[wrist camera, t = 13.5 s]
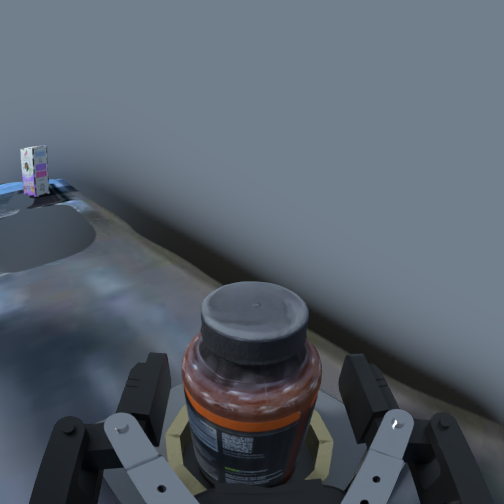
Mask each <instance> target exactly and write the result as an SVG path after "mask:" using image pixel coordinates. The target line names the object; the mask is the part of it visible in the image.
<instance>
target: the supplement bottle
mask: <svg viewBox="0 0 504 504" xmlns="http://www.w3.org/2000/svg"><path fill="white" fill-rule="evenodd" d="M308 316H309V312H308V308H307V306H306V303H305V302H304V301H303V300H302V299H301V298H300V297H299V296H298V295H297V294H295V293H294V292H292V291H290V290H288V289H286V288H284V287H281V286H279V285H275V284H270V283H265V282H239V283H233V284H229V285H225V286H222V287H220V288H218V289H216V290H214V291H212V292H211V293H210V294H209V295H208V296H207V297H206V298H205V299H204V301H203V303H202V306H201V320H202V326H201V332H199V333H198V334H197V335H196V336H195V337H194V338H193V339H192V340H191V342H190V343H189V345H188V346H187V348H186V351H185V354H184V356H183V361H182V379H183V385H184V394H185V400H186V406H187V412H188V418H189V424H190V429H191V436H192V441H193V446H194V452H195V458H196V462H197V464H198V467H199V470H200V472H201V474H202V476H203V477H204V478H205V479H206V481H207V482H208V483H209V484H210V485H212V486H213V487H214V488H215V482H217V483H244V484H249V485H254V486H259V487H265V488H273V487H277V486H280V485H284V484H285V483H286V482H287V481H288V480H289V479H290V478H291V476H292V474H293V472H294V470H295V468H296V466H297V463H298V460H299V457H300V454H301V451H302V447H303V444H304V441H305V438H306V435H307V431H308V428H309V425H310V421H311V418H312V414H313V411H314V408H315V403H316V401H317V397H318V391H319V388H320V384H321V376H322V365H321V360H320V356H319V354H318V352H317V350H316V348H315V347H314V345H313V344H312V343H311V342H310V340H309V339H308V338H307V336H306V330H307V324H308Z"/></svg>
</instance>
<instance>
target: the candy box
mask: <svg viewBox="0 0 504 504" xmlns="http://www.w3.org/2000/svg"><path fill="white" fill-rule="evenodd" d="M21 166H22V178H23V188H24V194H26V195H29V196H34V197H38V196H42V195H47V194H50V190H49V179H48V163H47V145H43V146H34V147H29V148H24V149H21Z"/></svg>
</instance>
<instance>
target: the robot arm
mask: <svg viewBox="0 0 504 504" xmlns="http://www.w3.org/2000/svg"><path fill="white" fill-rule="evenodd" d="M170 389H171V376H170V370H169V364H168V357H167V354H165V353H153V352H150V353H149V355H148V358H147V361H146V363H139V362H138V363H137V364H136V365H135V366H134V367H133V368H132V369H131V371H130V374H129V377H128V380H127V382H126V387H125V388H124V391H123V394H122V396H121V399H120V402H119V405H118V408H117V411H116V413H115V414H113V415H111V416H109V417H108V418H107V419H106V421H105V422H103V423H96V424H84V423H83V422H82V421H81V420H80V419H79V418H76V417H72V416H68V417H64V418H62V419H60V420H59V421H58V422H57V423H56V424H55V426H54V429H53V431H52V434H51V437H50V439H49V442H48V445H47V448H46V451H45V454H44V456H43V459H42V462H41V465H40V468H39V472H38V475H37V478H36V481H35V484H34V488H33V491H32V494H31V498H30V502H29V504H97V503H98V498H99V492H100V487H101V482H102V477H103V472H104V469H115V468H125V470H126V472H127V473H128V475H129V477H130V479H131V480H132V482H133V483H134V485H135V487H136V488H137V490H138V491H139V493H140V495H141V496H142V498H143V499H144V501H145V502H146V504H386V503H387V501H388V499H389V497H390V495H391V492H392V490H393V488H394V485H395V483H396V481H397V478H398V476H399V473H400V471H401V468H402V465H403V462H405V463H408V465H409V468H410V471H411V474H412V477H413V480H414V483H415V486H416V490H417V493H418V496H419V500H420V503H421V504H494V503H493V501H492V498H491V496H490V493H489V491H488V488H487V486H486V483H485V481H484V479H483V476H482V474H481V472H480V470H479V467H478V465H477V463H476V461H475V458H474V456H473V454H472V452H471V450H470V448H469V446H468V444H467V441H466V439H465V437H464V435H463V433H462V431H461V429H460V427H459V425H458V423H457V421H456V420H455V418H454V417H453V416H451V415H450V414H447V413H442V412H441V413H437V414H435V415H434V416H433V417H432V418H431V420H419V419H413V418H412V416H411V415H410V414H409V413H408V412H406V411H404V410H401V409H399V407H398V405H397V402H396V400H395V398H394V396H393V394H392V392H391V390H390V388H389V386H388V384H387V382H386V380H385V378H384V376H383V374H382V372H381V370H380V369H378V368H377V367H376V366H375V365H374V364H368V362H367V360H366V358H365V356H364V355H363V354H353V355H347V356H346V357H345V360H344V364H343V367H342V370H341V374H340V377H339V391H340V394H341V397H342V400H343V403H344V406H345V409H346V412H347V415H348V418H349V421H350V424H351V427H352V430H353V433H354V436H355V439H356V442H357V444H363V443H366V446H367V448H366V450H365V452H364V454H363V456H362V458H361V460H360V462H359V464H358V466H357V467H356V469H355V471H354V473H353V475H352V477H351V478H350V480H349V482H348V483H347V485H346V487H345V488H344V490H342V489H339V488H337V487H333V486H329V485H323V484H322V479H321V478H319V479H310V480H300V481H294V482H291V483H287V484H284V485H280V486H277V487H273V488H265V487H259V486H254V485H249V484H244V483H217V482H215V489H209V490H206V491H203V492H200V493H198V494H196V495H194V496H193V495H192V494H191V493H190V491H189V490H188V489H187V488H186V486H185V485H184V484H183V482H182V481H181V480H180V479H179V477H178V476H177V475H176V473H175V472H174V471H173V469H172V468H171V467H170V465H169V464H168V462H167V461H166V460H165V458H164V457H163V456H162V455H159V454H158V452H157V451H156V449H155V448H154V447H159V445H160V440H161V435H162V429H163V424H164V419H165V414H166V409H167V404H168V399H169V395H170Z"/></svg>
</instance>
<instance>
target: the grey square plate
mask: <svg viewBox="0 0 504 504" xmlns="http://www.w3.org/2000/svg"><path fill="white" fill-rule="evenodd" d="M184 405H186V400H185V394H184V385H183V383H181V384H179V385H177V386H175V387H173V388H171V389H170V395H169V399H168V404H167V409H166V414H165V419H164V424H163V429H162V435H161V440H160V445H159V447H154V448H155V449H156V451H157V452H158V454H159V455H162V456H163V457H164V458H165V460H166V461H167V462H168V458H167V448H166V437H165V435H166V432H167V431H168V429H169V428H170V426H171V424H172V423H173V421H174V420H175V418H176V416H177V415H178V413H179V412H180V410H181V408H182V407H184ZM314 410H316V411H317V412H318V413H319V415H320V417H321V418H322V420H323V422H324V424H325V426H326V428H327V430H328V431H329V433H330V435H331V437H332V439H333V441H334V442H333V449H332V456H331V462H330V468H329V474H328V477H327V478H326V480H325V482H324V484H323V485H329V486H333V487H337V488H339V489H342V490H344V488H345V487H346V485H347V483H348V482H349V480H350V478H351V477H352V475H353V473H354V471H355V469H356V467H357V466H358V464H359V462H360V460H361V458H362V456H363V454H364V452H365V450H366V448H367V446H366V443H363V444H357V442H356V439H355V436H354V433H353V430H352V427H351V424H350V421H349V418H348V415H347V412H346V409H345V406H344V404H342V403H341V402H339V401H337V400H336V399H334V398H332V397H331V396H329V395H327V394H326V393H324V392H322V391H321V390H319V391H318V397H317V401H316V403H315V408H314ZM106 419H107V418H106ZM106 419H104V420H102V421H99V422H97V423H103V422H105V421H106ZM95 424H96V423H95ZM183 455H184V461H185V468H186V469H187V470H188V471H189V472H190V473H191V474H192V475H193V476H194V477H195V478H196V479H197V480H198V481H199V482H200V483H201V484H202V485H203V486H204V487H205V488H206V489H207V490H209V489H215V488H214V487H213V486H212V485H210V484H209V483H208V482H207V481H206V479H205V478H204V477H203V476H202V474H201V472H200V470H199V467H198V464H197V462H196V458H195V452H194V446H193V441H192V438H191V440H190V442H189V444H188V446H187V448H186V449H185V451H184V453H183ZM312 461H313V457H312V455H311V453H310V451H309V449H308V446H307V444H306V442H305V441H304V444H303V447H302V451H301V454H300V457H299V460H298V463H297V466H296V468H295V470H294V472H293V474H292V476H291V478H290V479H289V480H288V481H287V482H286V483H285V484H287V483H291V482H294V481H300V480H304V479H306V478H307V477H308V476H309V475H310V471H311V466H312ZM405 464H406V463H405V462H403V465H402V468H403V467H404V465H405ZM402 468H401V470H402ZM103 477H104V478H105V480H106V482H107V483H108V485H109V486H110V488H111V489H112V491H113V492H114V494H115V495H116V497H117V498H118V500H119V501H120V502H121V504H146V502H145V501H144V499H143V498H142V496H141V495H140V493H139V491H138V490H137V488H136V487H135V485H134V483H133V482H132V480H131V479H130V477H129V475H128V473H127V472H126V470H125V468H115V469H104V472H103Z"/></svg>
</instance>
